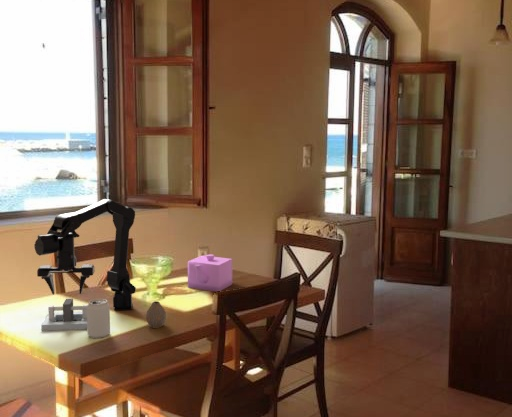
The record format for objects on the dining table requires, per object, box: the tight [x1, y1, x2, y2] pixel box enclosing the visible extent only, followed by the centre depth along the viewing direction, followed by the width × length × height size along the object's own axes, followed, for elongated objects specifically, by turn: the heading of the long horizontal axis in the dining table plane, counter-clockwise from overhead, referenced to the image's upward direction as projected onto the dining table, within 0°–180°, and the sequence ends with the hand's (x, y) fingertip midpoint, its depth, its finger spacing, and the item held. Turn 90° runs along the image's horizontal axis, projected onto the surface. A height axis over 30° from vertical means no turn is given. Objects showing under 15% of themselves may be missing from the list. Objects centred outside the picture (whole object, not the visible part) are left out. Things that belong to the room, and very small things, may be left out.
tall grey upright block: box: [62, 298, 74, 322], centre depth 215 cm, size 2×7×8 cm, turn 8°
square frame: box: [41, 304, 88, 332], centre depth 215 cm, size 16×13×6 cm
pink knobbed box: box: [187, 254, 233, 292], centre depth 264 cm, size 15×25×14 cm, turn 156°
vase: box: [145, 301, 167, 329], centre depth 214 cm, size 7×7×9 cm
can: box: [86, 298, 111, 339], centre depth 204 cm, size 8×8×12 cm
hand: (67, 294), depth 214 cm, fingers open, 9 cm apart
